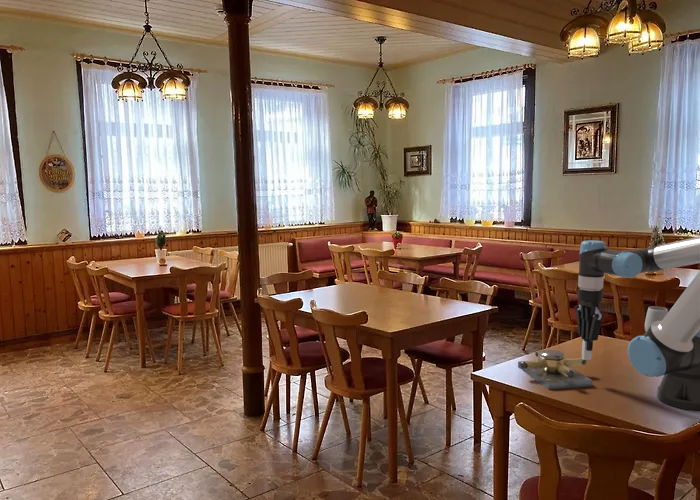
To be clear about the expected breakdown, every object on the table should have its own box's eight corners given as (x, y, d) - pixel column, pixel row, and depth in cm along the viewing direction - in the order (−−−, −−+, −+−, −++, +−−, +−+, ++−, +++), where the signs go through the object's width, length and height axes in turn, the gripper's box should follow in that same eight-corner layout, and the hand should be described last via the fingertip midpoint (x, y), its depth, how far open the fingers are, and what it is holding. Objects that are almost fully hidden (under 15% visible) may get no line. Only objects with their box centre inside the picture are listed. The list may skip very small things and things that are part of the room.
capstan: (606, 379, 184) (606, 363, 184) (537, 384, 181) (537, 368, 180) (567, 356, 207) (568, 342, 207) (505, 360, 204) (506, 346, 203)
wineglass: (661, 363, 207) (664, 306, 204) (670, 370, 199) (674, 310, 196) (639, 362, 207) (642, 305, 205) (647, 369, 200) (651, 310, 197)
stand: (592, 386, 185) (592, 377, 184) (548, 389, 182) (548, 380, 182) (557, 364, 206) (557, 356, 206) (518, 367, 204) (518, 358, 204)
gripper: (613, 292, 179) (608, 365, 182) (589, 284, 192) (586, 352, 195) (591, 293, 178) (586, 366, 181) (569, 284, 191) (565, 353, 194)
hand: (586, 359), depth 188 cm, fingers closed
